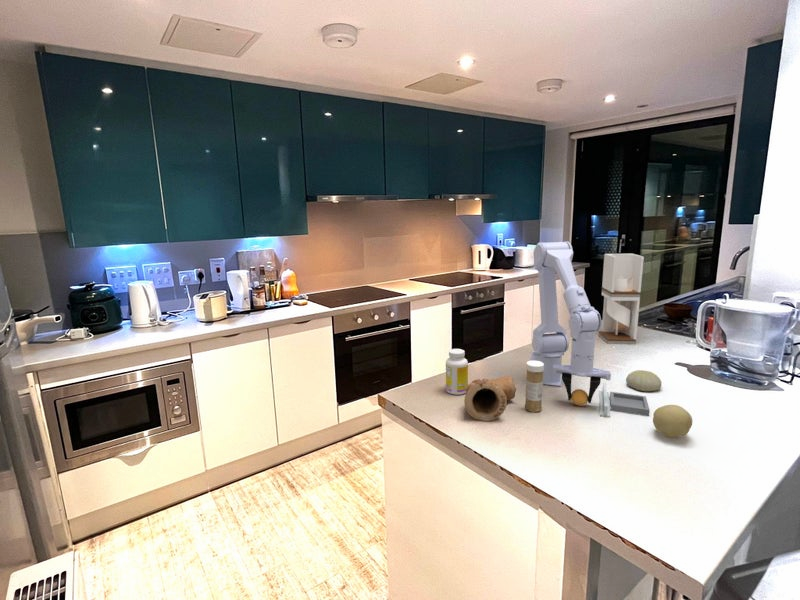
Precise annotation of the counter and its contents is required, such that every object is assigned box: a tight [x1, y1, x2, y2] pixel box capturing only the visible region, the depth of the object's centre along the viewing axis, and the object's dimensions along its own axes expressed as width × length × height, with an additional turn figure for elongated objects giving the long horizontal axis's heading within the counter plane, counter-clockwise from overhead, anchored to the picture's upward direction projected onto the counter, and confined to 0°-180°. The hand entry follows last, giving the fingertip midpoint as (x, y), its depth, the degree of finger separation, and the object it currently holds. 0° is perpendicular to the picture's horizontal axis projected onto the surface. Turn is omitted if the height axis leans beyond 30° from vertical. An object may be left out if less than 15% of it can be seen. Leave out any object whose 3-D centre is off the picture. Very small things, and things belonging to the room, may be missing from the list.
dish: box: [609, 391, 651, 417], centre depth 117 cm, size 9×9×2 cm
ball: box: [570, 388, 589, 407], centre depth 118 cm, size 4×4×4 cm
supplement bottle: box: [445, 348, 469, 396], centre depth 129 cm, size 7×7×13 cm
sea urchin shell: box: [625, 369, 663, 392], centre depth 129 cm, size 9×8×8 cm
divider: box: [598, 382, 611, 418], centre depth 119 cm, size 2×16×3 cm, turn 156°
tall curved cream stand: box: [598, 253, 645, 345], centre depth 172 cm, size 11×11×35 cm
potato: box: [652, 404, 693, 439], centre depth 101 cm, size 8×8×8 cm
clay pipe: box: [464, 376, 517, 422], centre depth 117 cm, size 19×11×15 cm
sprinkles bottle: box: [524, 360, 544, 413], centre depth 116 cm, size 5×5×14 cm
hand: (579, 400), depth 119 cm, fingers closed on ball, 4 cm apart
